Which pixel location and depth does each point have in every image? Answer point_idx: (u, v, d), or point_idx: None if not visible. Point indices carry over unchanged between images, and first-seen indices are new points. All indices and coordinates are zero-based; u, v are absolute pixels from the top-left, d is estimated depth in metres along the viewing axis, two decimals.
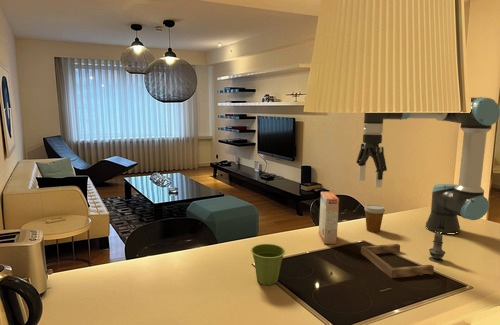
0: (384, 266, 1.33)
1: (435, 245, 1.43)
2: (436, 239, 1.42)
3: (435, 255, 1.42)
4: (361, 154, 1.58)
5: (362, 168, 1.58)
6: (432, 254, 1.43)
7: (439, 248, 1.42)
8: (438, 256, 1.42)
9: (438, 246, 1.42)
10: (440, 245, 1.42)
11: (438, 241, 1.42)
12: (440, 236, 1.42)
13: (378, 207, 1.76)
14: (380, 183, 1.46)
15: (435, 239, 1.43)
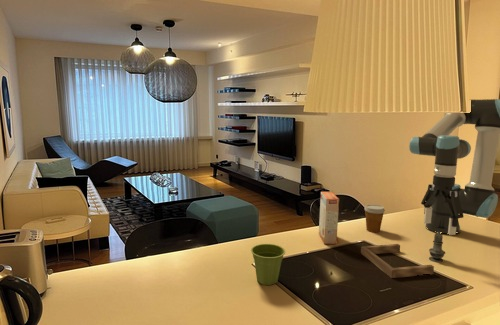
0: (384, 266, 1.33)
1: (435, 245, 1.43)
2: (436, 239, 1.42)
3: (435, 255, 1.42)
4: (428, 195, 1.47)
5: (428, 210, 1.48)
6: (432, 254, 1.43)
7: (439, 248, 1.42)
8: (438, 256, 1.42)
9: (438, 246, 1.42)
10: (440, 245, 1.42)
11: (438, 241, 1.42)
12: (440, 236, 1.42)
13: (378, 207, 1.76)
14: (454, 230, 1.35)
15: (435, 239, 1.43)
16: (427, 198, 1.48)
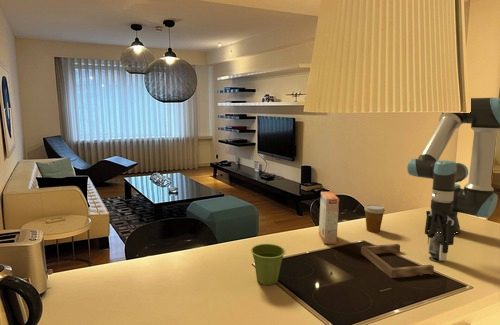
0: (384, 266, 1.33)
1: (435, 245, 1.43)
2: (436, 239, 1.42)
3: (435, 255, 1.42)
4: (429, 223, 1.47)
5: (432, 240, 1.46)
6: (432, 254, 1.43)
7: (439, 248, 1.42)
8: (438, 256, 1.42)
9: (438, 246, 1.42)
10: None
11: (438, 241, 1.42)
12: (440, 236, 1.42)
13: (378, 207, 1.76)
14: (445, 256, 1.41)
15: (435, 239, 1.43)
16: (429, 226, 1.47)
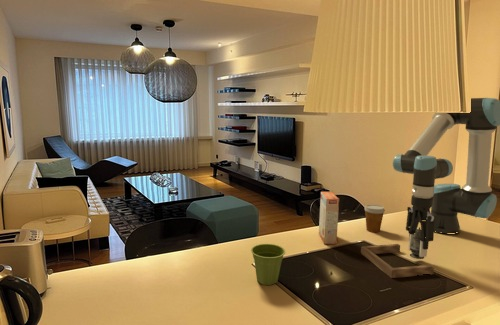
0: (384, 266, 1.33)
1: (416, 241, 1.41)
2: (417, 235, 1.40)
3: (415, 251, 1.40)
4: (410, 219, 1.45)
5: (413, 237, 1.44)
6: (413, 251, 1.41)
7: None
8: (418, 252, 1.39)
9: (419, 242, 1.40)
10: None
11: (418, 237, 1.40)
12: (420, 232, 1.39)
13: (378, 207, 1.76)
14: (425, 252, 1.38)
15: (416, 235, 1.41)
16: (410, 222, 1.45)
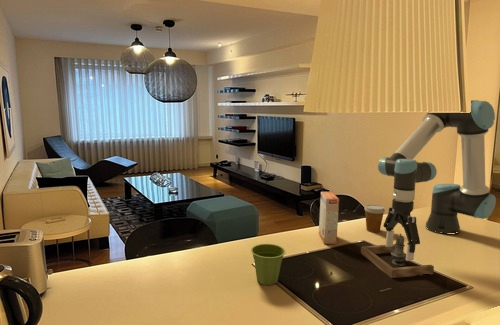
0: (384, 266, 1.33)
1: (397, 248, 1.39)
2: (397, 242, 1.39)
3: (396, 258, 1.39)
4: (389, 218, 1.45)
5: (390, 233, 1.46)
6: (394, 257, 1.40)
7: (400, 251, 1.39)
8: (399, 259, 1.38)
9: (400, 249, 1.39)
10: (401, 248, 1.39)
11: (399, 244, 1.39)
12: (401, 239, 1.38)
13: (378, 207, 1.76)
14: (412, 256, 1.34)
15: (397, 242, 1.39)
16: (388, 221, 1.46)
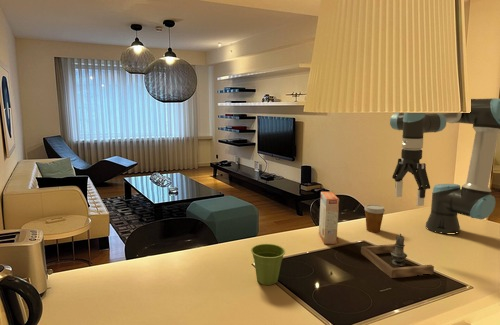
0: (384, 266, 1.33)
1: (397, 248, 1.39)
2: (397, 242, 1.39)
3: (396, 258, 1.39)
4: (398, 169, 1.50)
5: (399, 184, 1.51)
6: (394, 257, 1.40)
7: (400, 251, 1.39)
8: (399, 259, 1.38)
9: (400, 249, 1.39)
10: (401, 248, 1.39)
11: (399, 244, 1.39)
12: (401, 239, 1.38)
13: (378, 207, 1.76)
14: (422, 201, 1.38)
15: (396, 242, 1.39)
16: (397, 172, 1.51)
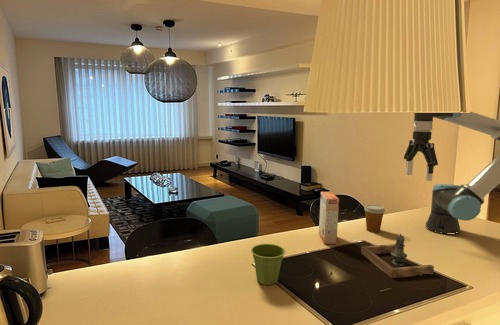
0: (384, 266, 1.33)
1: (397, 248, 1.39)
2: (397, 242, 1.39)
3: (396, 258, 1.39)
4: (409, 150, 1.68)
5: (410, 163, 1.69)
6: (394, 257, 1.40)
7: (400, 251, 1.39)
8: (399, 259, 1.38)
9: (400, 249, 1.39)
10: (401, 248, 1.39)
11: (399, 244, 1.39)
12: (401, 239, 1.38)
13: (378, 207, 1.76)
14: (430, 177, 1.56)
15: (397, 242, 1.39)
16: (408, 153, 1.69)
